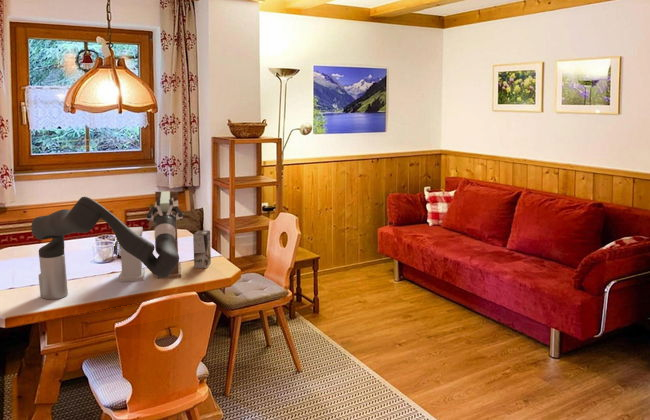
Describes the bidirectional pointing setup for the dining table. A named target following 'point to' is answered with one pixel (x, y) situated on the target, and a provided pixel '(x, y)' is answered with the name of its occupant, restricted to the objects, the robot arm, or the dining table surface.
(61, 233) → the robot arm
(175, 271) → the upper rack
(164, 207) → the batten
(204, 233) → the coffee box
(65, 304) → the dining table surface
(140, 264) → the post
